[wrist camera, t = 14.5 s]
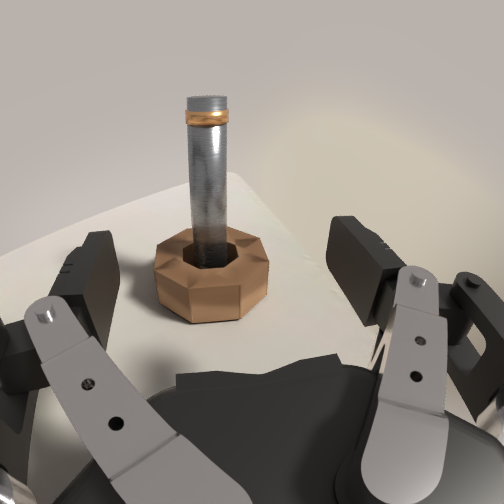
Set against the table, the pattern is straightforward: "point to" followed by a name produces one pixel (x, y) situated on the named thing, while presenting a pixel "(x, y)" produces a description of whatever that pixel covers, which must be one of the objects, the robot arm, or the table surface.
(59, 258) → the table surface
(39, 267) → the table surface
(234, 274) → the bead
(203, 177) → the banded metal pin
